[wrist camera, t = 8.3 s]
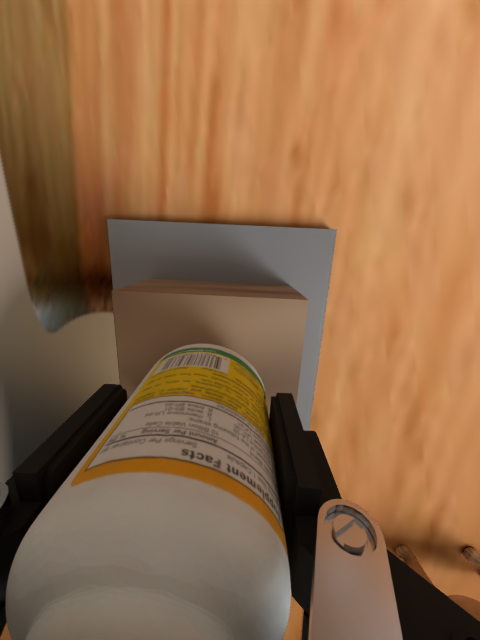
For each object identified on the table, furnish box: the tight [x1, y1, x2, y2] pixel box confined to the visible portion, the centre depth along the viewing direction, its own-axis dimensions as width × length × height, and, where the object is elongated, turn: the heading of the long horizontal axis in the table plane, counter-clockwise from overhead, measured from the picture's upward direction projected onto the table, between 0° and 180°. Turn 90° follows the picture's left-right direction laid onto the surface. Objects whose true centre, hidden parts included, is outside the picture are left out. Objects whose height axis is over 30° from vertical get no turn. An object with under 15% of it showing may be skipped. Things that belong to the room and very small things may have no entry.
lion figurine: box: [396, 545, 480, 621], centre depth 20 cm, size 15×5×9 cm, turn 96°
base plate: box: [107, 219, 337, 431], centre depth 18 cm, size 16×14×1 cm
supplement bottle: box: [6, 344, 291, 640], centre depth 7 cm, size 5×5×10 cm
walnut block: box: [112, 279, 309, 416], centre depth 15 cm, size 9×9×5 cm
